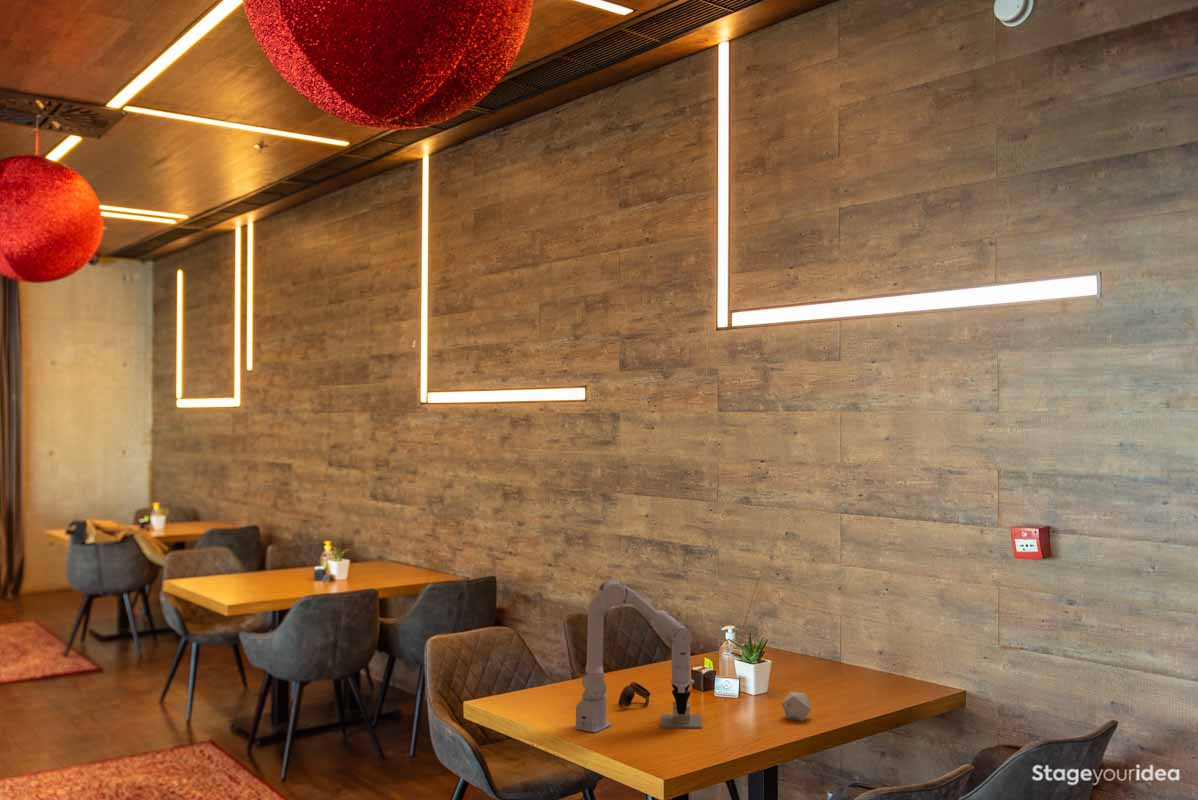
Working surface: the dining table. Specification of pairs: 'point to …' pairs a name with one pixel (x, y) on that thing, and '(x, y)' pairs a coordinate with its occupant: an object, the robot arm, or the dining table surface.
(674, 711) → the cream block
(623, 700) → the dark brown looped arch
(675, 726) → the slate mat
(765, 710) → the dining table surface
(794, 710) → the die
